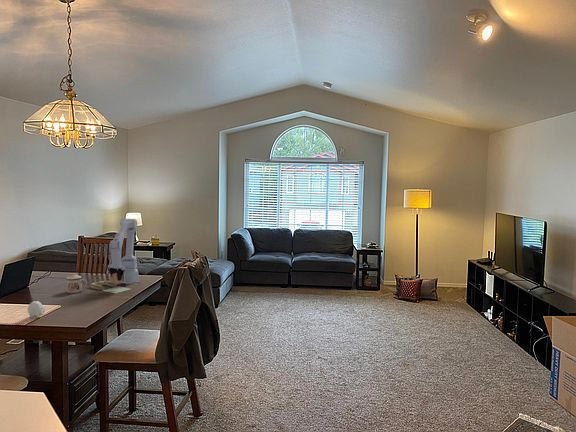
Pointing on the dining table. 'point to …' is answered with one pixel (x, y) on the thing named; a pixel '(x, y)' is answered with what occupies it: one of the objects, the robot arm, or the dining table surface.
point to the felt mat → (116, 289)
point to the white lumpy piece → (35, 309)
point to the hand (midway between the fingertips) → (116, 279)
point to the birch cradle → (99, 285)
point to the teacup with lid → (74, 283)
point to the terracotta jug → (115, 279)
